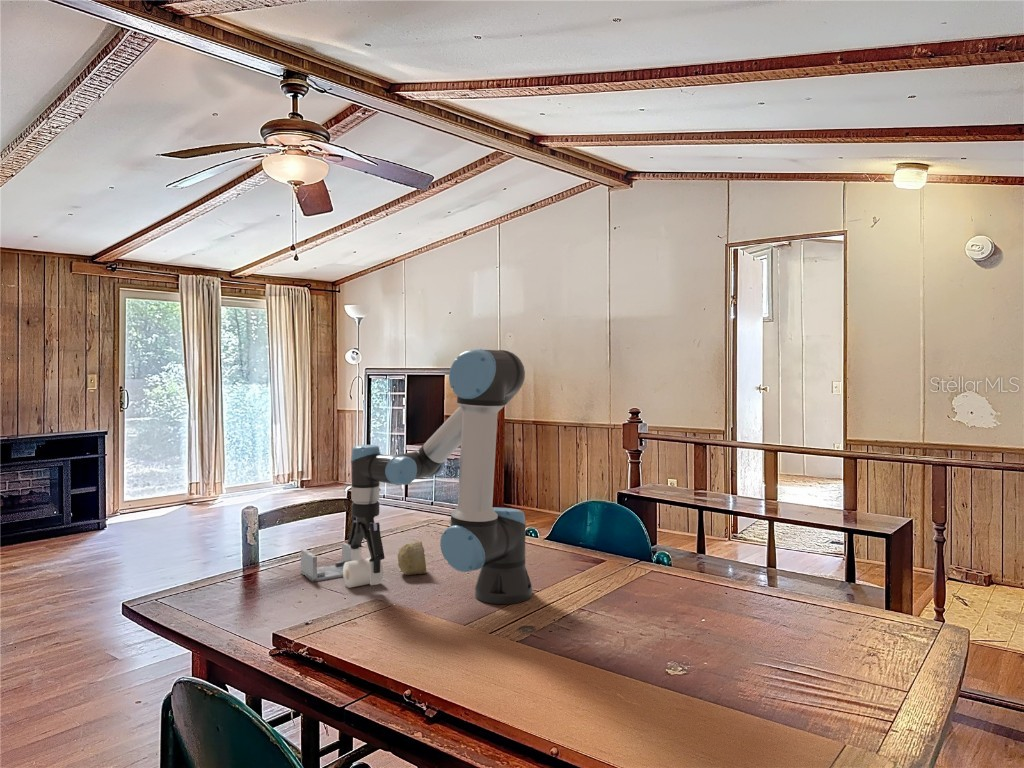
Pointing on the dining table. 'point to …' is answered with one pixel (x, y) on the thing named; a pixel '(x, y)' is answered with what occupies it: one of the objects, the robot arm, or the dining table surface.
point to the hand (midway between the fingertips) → (365, 577)
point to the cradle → (324, 572)
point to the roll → (358, 572)
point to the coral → (412, 559)
